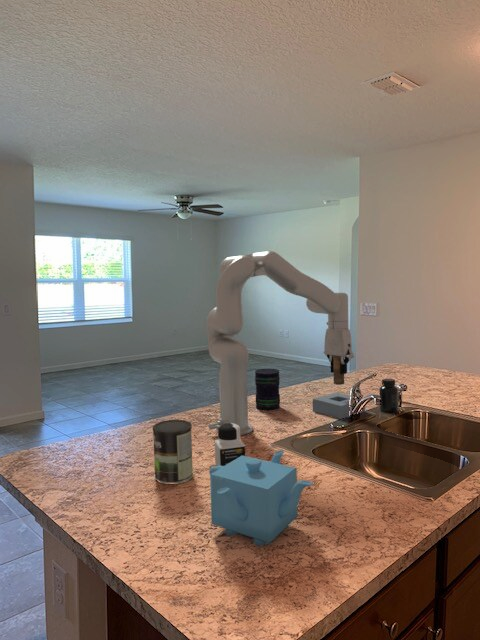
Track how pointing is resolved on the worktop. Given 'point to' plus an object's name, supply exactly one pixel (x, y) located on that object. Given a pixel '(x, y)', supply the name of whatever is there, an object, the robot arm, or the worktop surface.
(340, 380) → the peg
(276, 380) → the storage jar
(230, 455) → the medicine bottle
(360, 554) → the worktop surface
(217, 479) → the teakettle
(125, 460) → the worktop surface
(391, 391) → the supplement bottle
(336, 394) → the socket
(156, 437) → the coffee can
